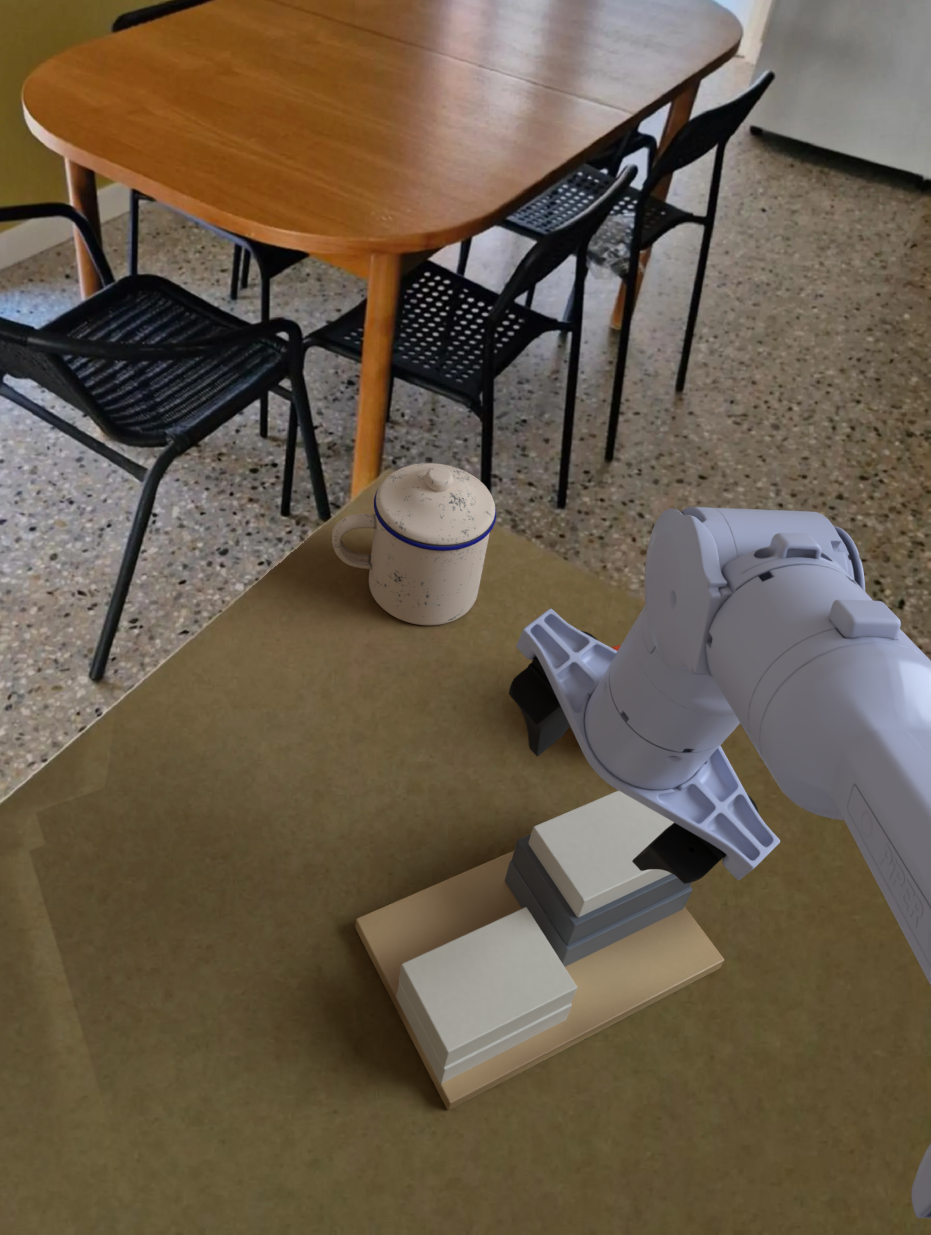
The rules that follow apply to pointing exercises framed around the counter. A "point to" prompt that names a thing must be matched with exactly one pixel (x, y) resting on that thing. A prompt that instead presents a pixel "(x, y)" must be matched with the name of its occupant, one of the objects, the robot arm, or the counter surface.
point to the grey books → (596, 927)
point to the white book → (598, 850)
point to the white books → (484, 993)
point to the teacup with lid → (424, 542)
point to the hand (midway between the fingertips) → (596, 796)
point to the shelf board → (602, 978)
